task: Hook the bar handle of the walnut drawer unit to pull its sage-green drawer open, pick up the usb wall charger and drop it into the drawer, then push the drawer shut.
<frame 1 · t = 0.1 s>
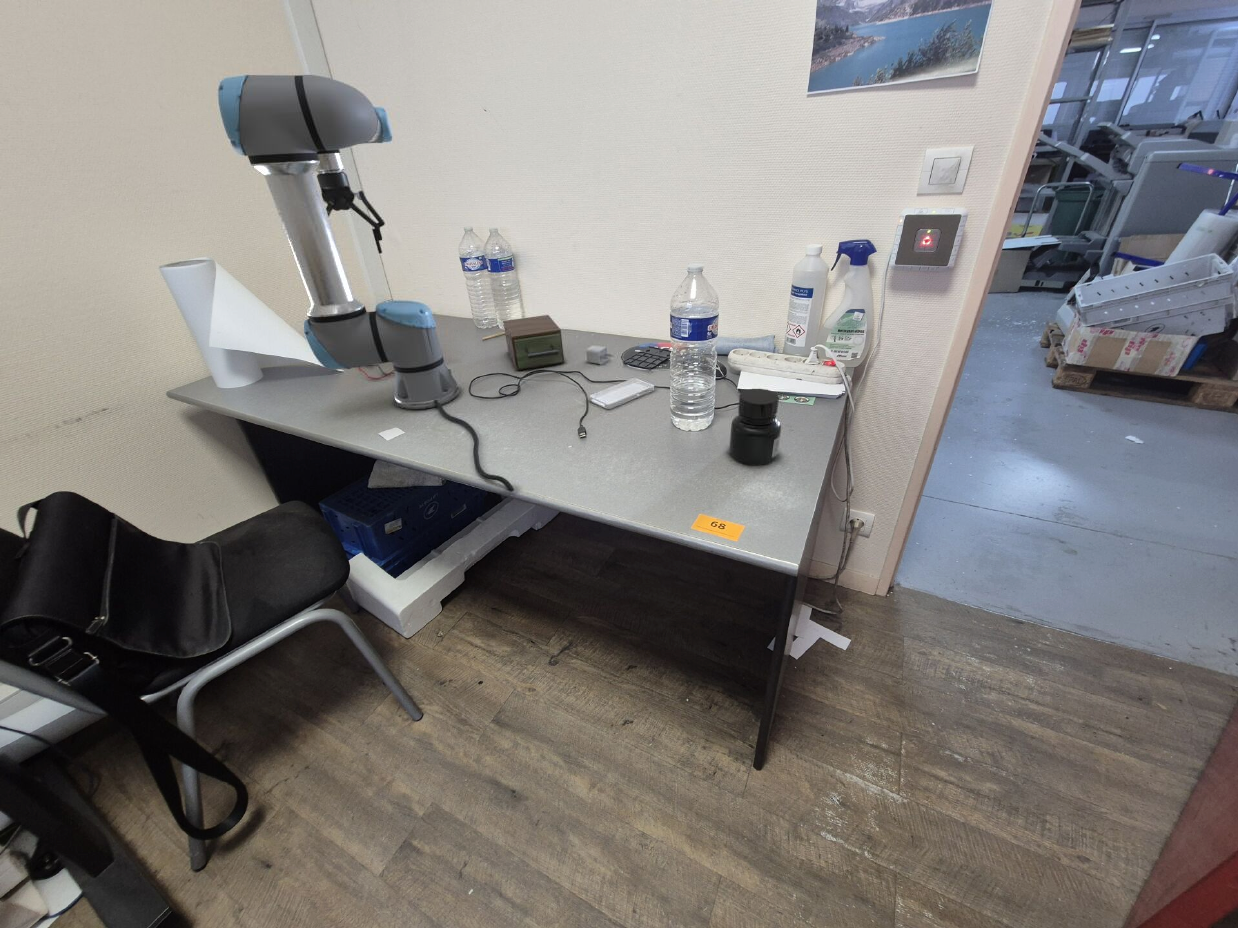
hand: (356, 255, 148), 28 cm above the table, tool pointing down, fingers open, 13 cm apart
cabinet: (535, 357, 148), on the table
multimeter test leads: (392, 363, 150), on the table
phone case: (622, 396, 122), on the table
drawer: (536, 346, 141), point 5 cm above the table, slide at 0.0 cm
ink bottle: (752, 454, 96), on the table
usb wall charger: (601, 363, 142), on the table
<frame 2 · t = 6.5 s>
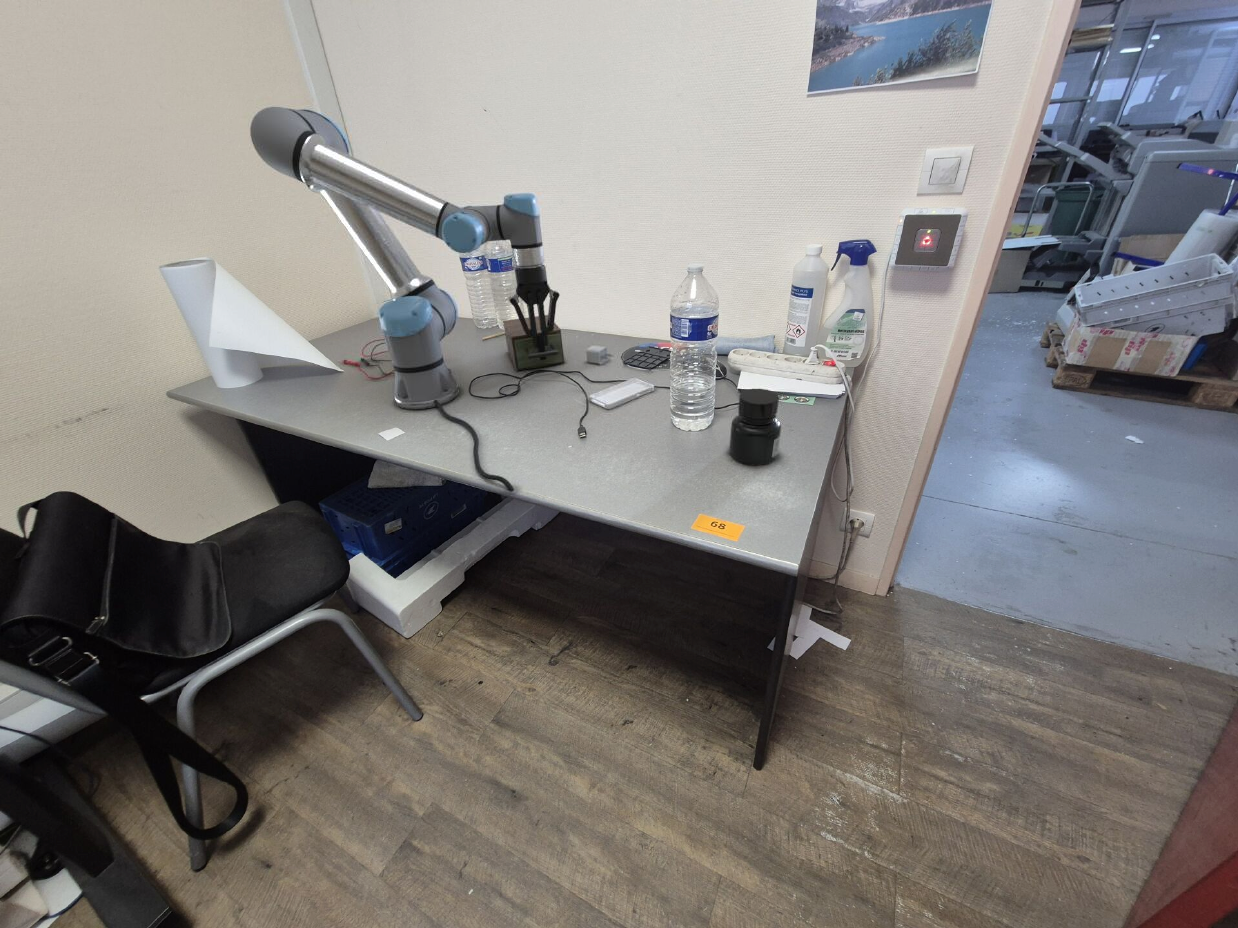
hand: (542, 358, 135), 4 cm above the table, tool pointing down, fingers closed
drawer: (536, 346, 141), point 5 cm above the table, slide at 0.0 cm, touching gripper
everything else where it was.
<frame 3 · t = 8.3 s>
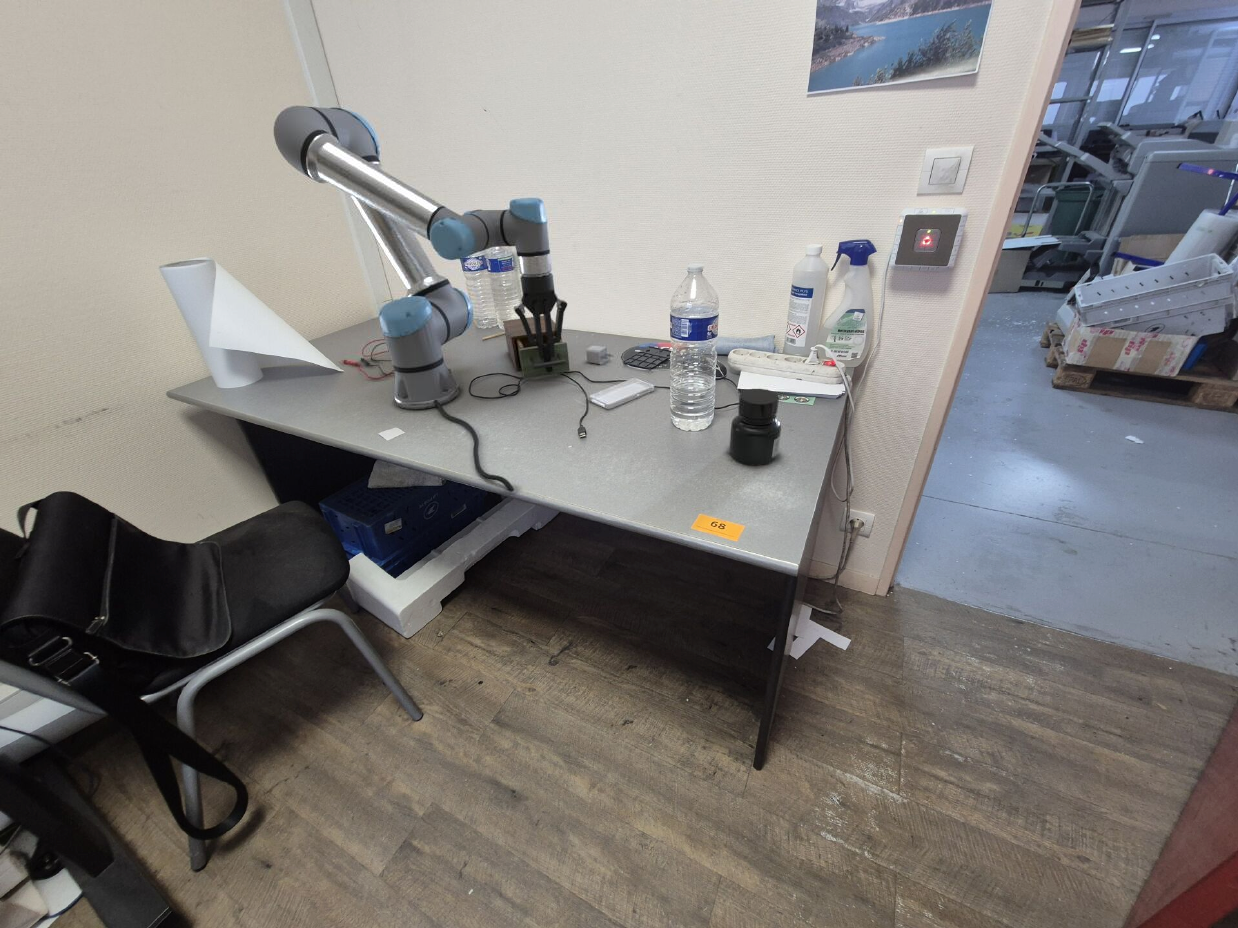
hand: (548, 370, 128), 4 cm above the table, tool pointing down, fingers closed
drawer: (541, 355, 134), point 5 cm above the table, slide at 8.1 cm, touching gripper
everything else where it was.
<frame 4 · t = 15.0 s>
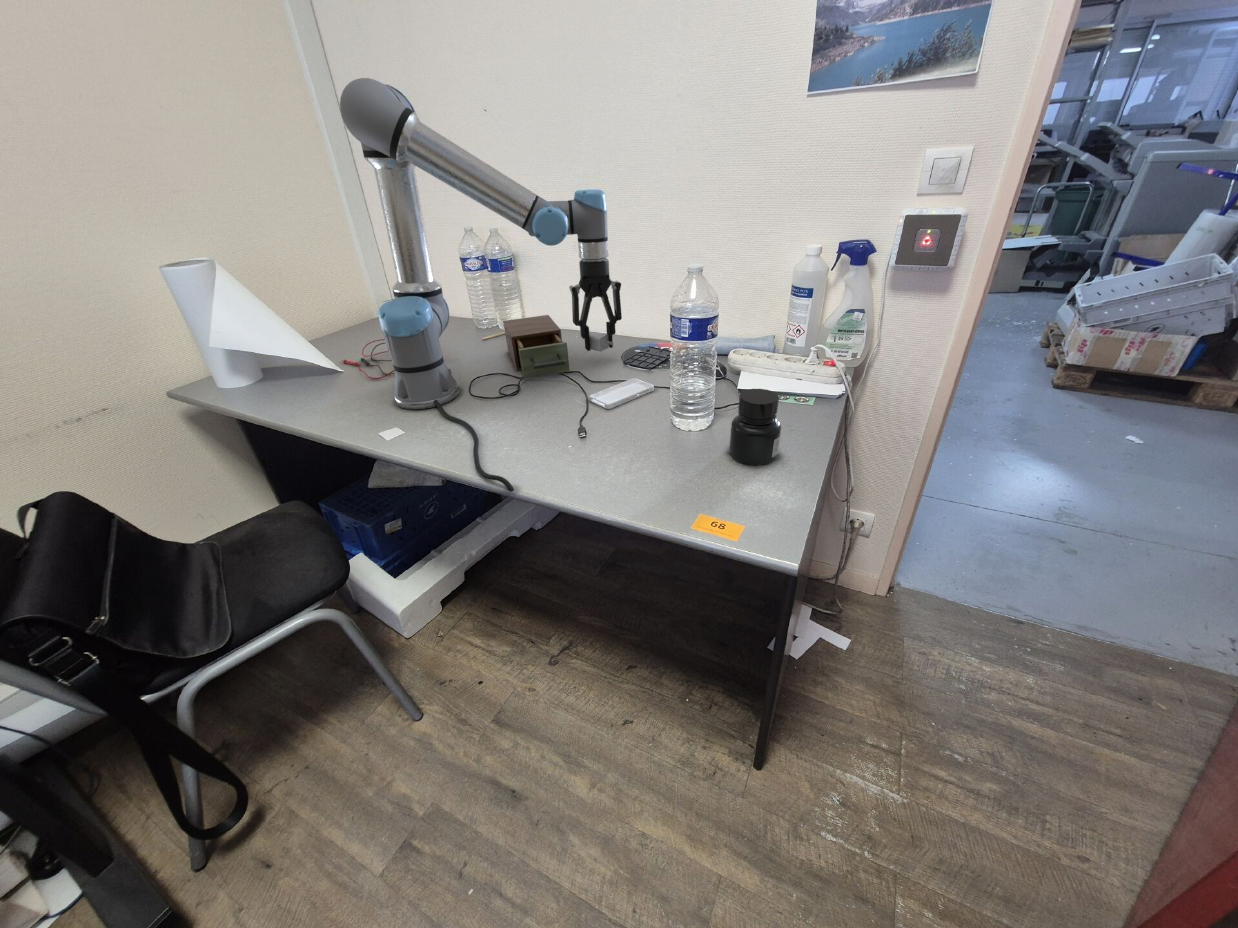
hand: (598, 347, 139), 4 cm above the table, tool pointing down, fingers closed on usb wall charger, 6 cm apart
drawer: (542, 355, 134), point 5 cm above the table, slide at 8.1 cm
usb wall charger: (602, 350, 139), point 4 cm above the table, touching gripper
everything else where it was.
when the fingers open (6 cm above the table, at t = 20.1 s): usb wall charger drops 4 cm, resting on drawer.
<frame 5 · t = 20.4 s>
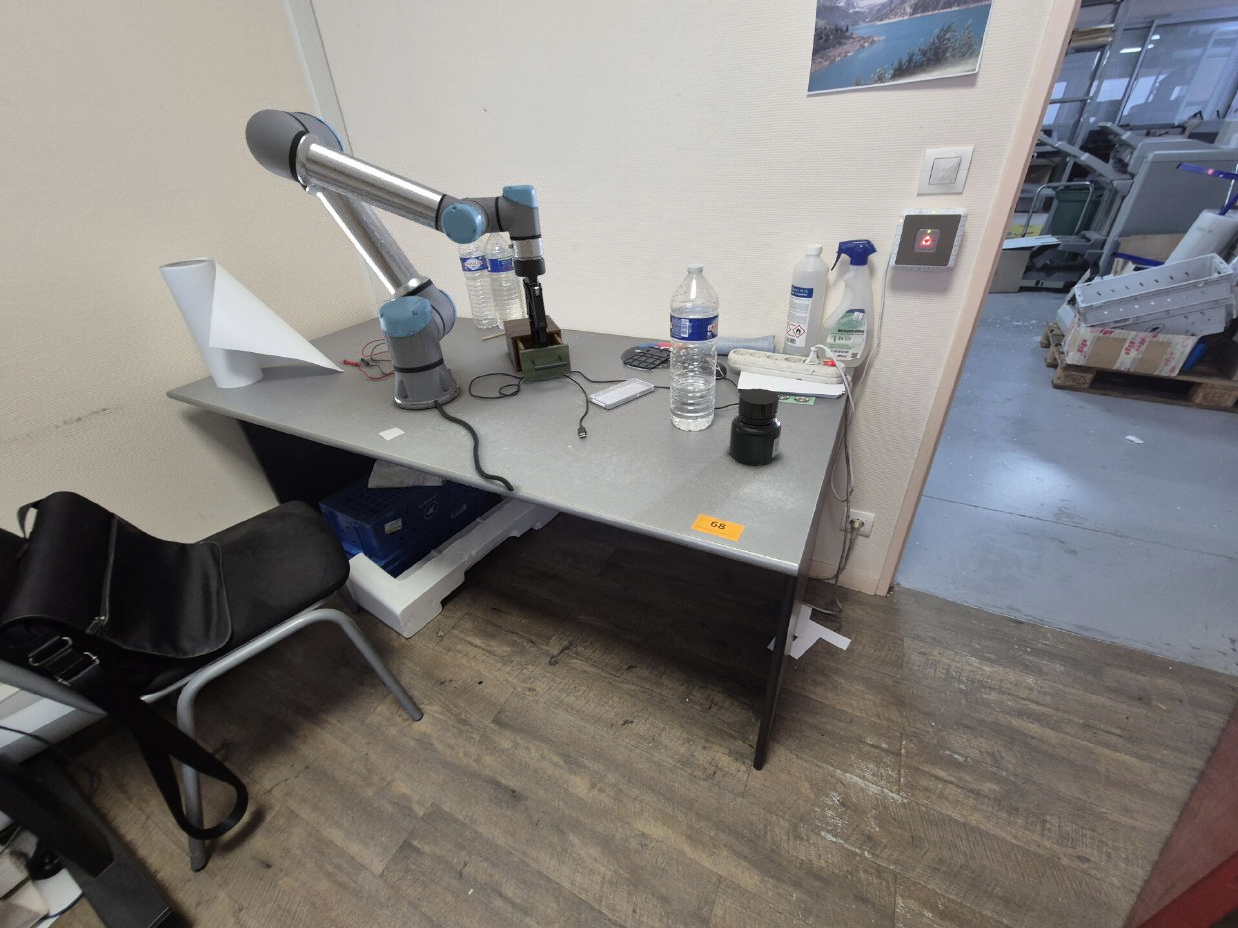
hand: (540, 348, 133), 7 cm above the table, tool pointing down, fingers open, 8 cm apart
drawer: (543, 357, 133), point 5 cm above the table, slide at 9.7 cm, touching usb wall charger
usb wall charger: (545, 366, 136), point 2 cm above the table, touching drawer
everything else where it was.
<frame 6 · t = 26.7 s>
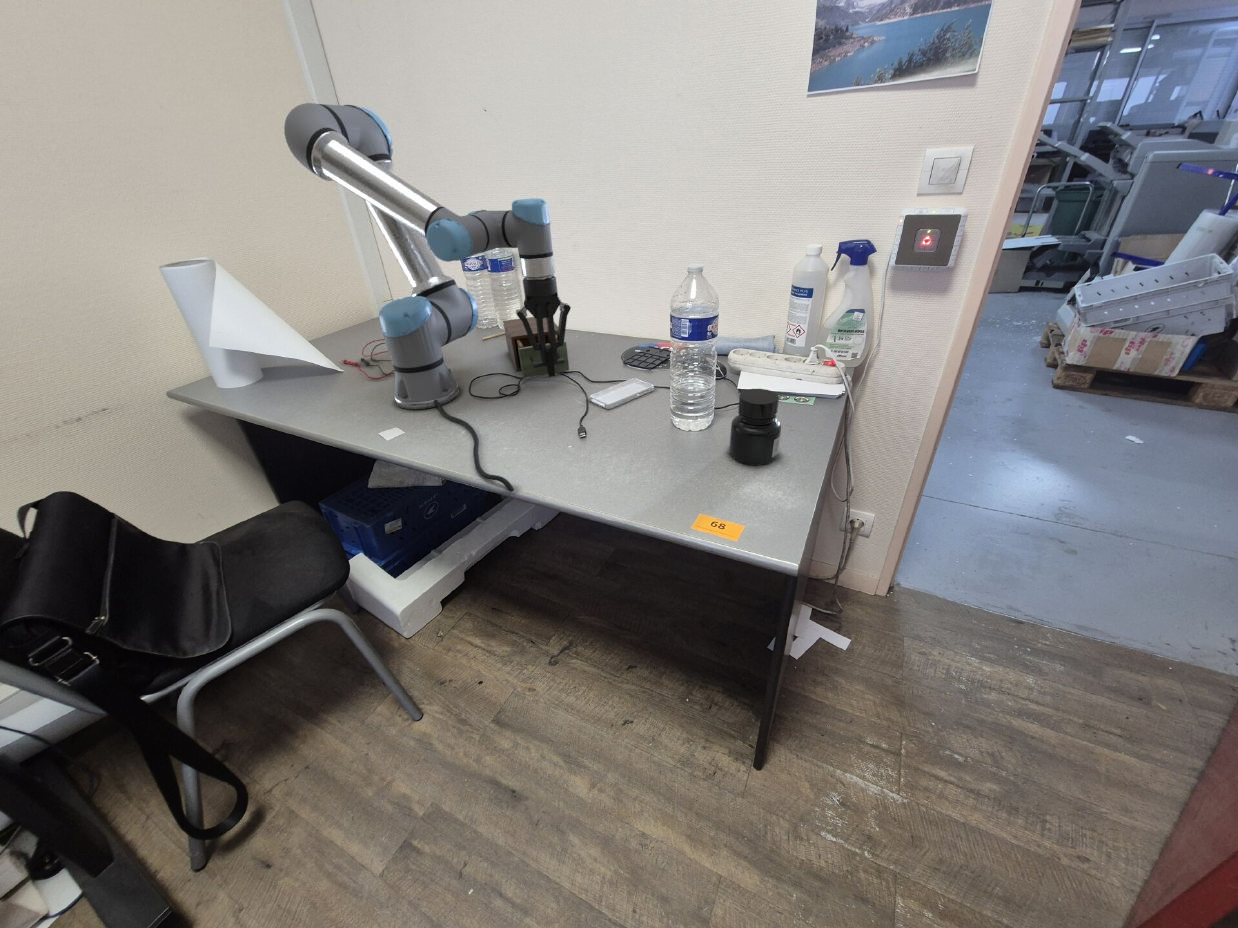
hand: (551, 374, 125), 4 cm above the table, tool pointing down, fingers closed
drawer: (541, 354, 135), point 5 cm above the table, slide at 7.3 cm, touching gripper, usb wall charger
usb wall charger: (543, 363, 138), point 2 cm above the table, touching drawer
everything else where it was.
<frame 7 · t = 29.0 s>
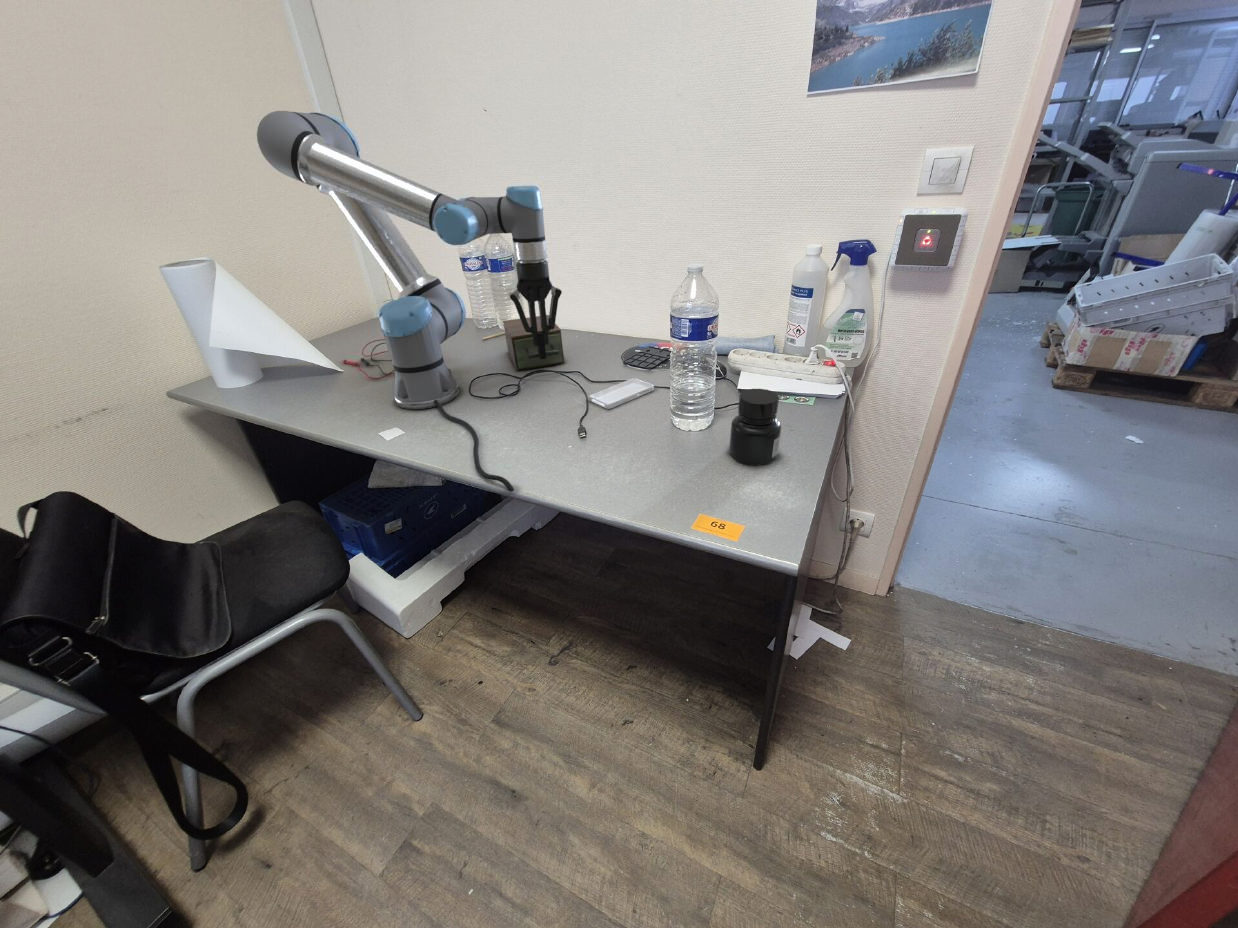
hand: (542, 357, 130), 6 cm above the table, tool pointing down, fingers closed
drawer: (536, 346, 141), point 5 cm above the table, slide at 0.0 cm, touching cabinet, gripper, usb wall charger
usb wall charger: (538, 355, 144), point 2 cm above the table, touching drawer
everything else where it was.
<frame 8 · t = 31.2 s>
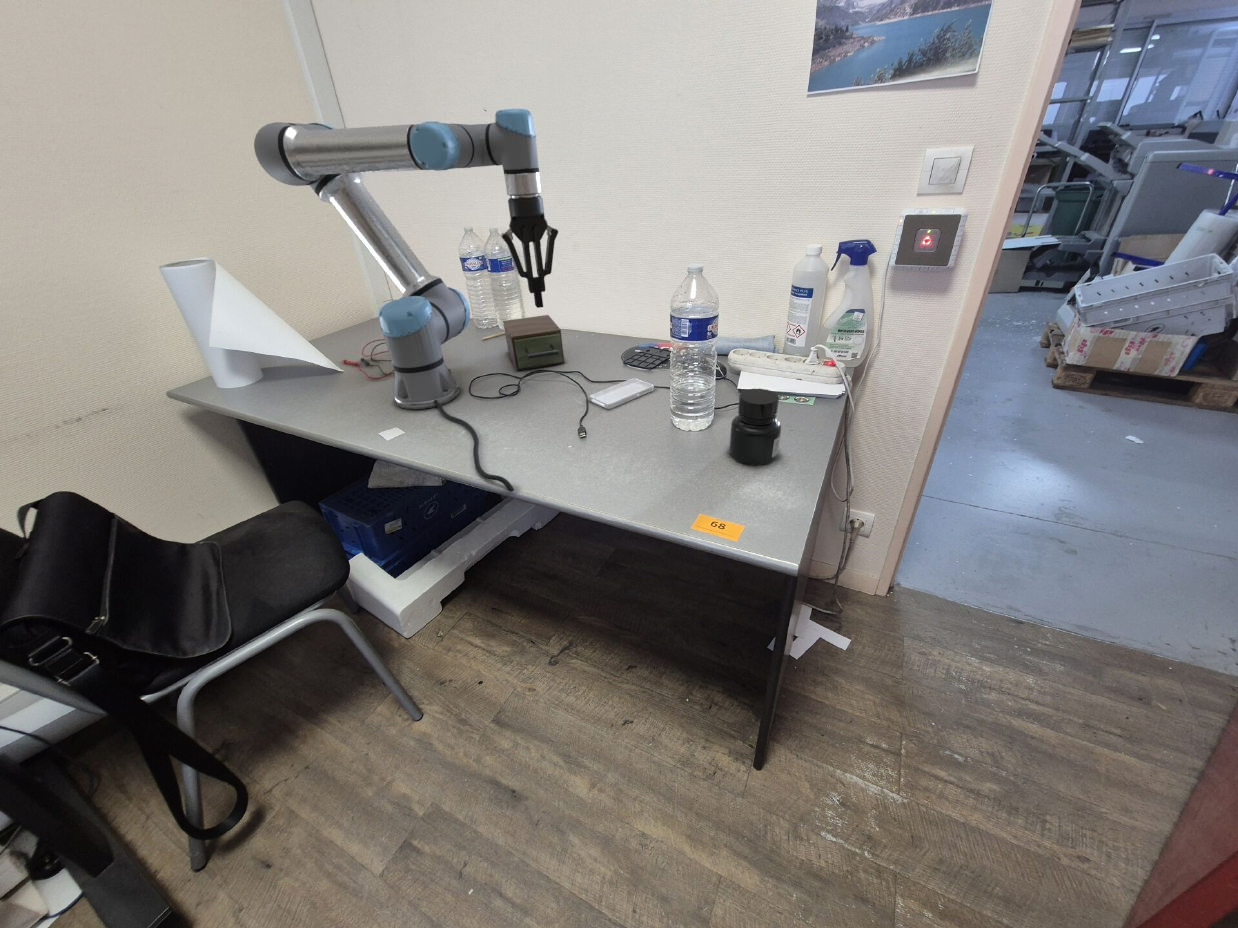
hand: (539, 306, 121), 19 cm above the table, tool pointing down, fingers closed
drawer: (536, 346, 141), point 5 cm above the table, slide at 0.0 cm, touching usb wall charger
everything else where it was.
at the end: drawer pulled out 10.0 cm at the most during the clip, back to where it started at the end; usb wall charger inside the target area in the cabinet (3.7 cm from its centre), point 1.8 cm above the cabinet's base; drawer slide at 0.0 cm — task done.
